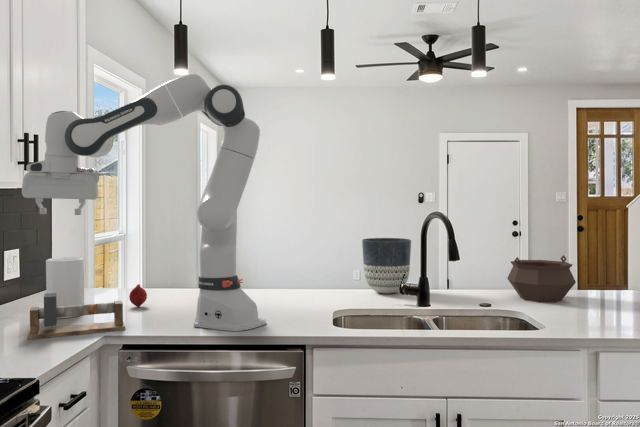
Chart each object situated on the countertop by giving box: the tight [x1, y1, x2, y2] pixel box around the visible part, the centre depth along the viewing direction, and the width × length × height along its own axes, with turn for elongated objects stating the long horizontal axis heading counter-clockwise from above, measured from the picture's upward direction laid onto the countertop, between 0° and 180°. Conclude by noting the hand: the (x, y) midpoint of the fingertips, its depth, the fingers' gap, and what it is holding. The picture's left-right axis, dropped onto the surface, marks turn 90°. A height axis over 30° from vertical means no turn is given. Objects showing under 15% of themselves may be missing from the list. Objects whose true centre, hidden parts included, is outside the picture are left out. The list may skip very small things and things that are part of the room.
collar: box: [43, 293, 58, 328], centre depth 154 cm, size 3×6×8 cm, turn 24°
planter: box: [361, 237, 412, 295], centre depth 219 cm, size 20×20×21 cm
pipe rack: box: [27, 300, 126, 340], centre depth 157 cm, size 25×8×8 cm, turn 115°
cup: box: [45, 256, 85, 320], centre depth 179 cm, size 11×11×18 cm
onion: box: [128, 283, 148, 308], centre depth 192 cm, size 6×6×8 cm
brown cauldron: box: [506, 254, 577, 303], centre depth 205 cm, size 24×24×16 cm
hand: (60, 214), depth 160 cm, fingers open, 8 cm apart
